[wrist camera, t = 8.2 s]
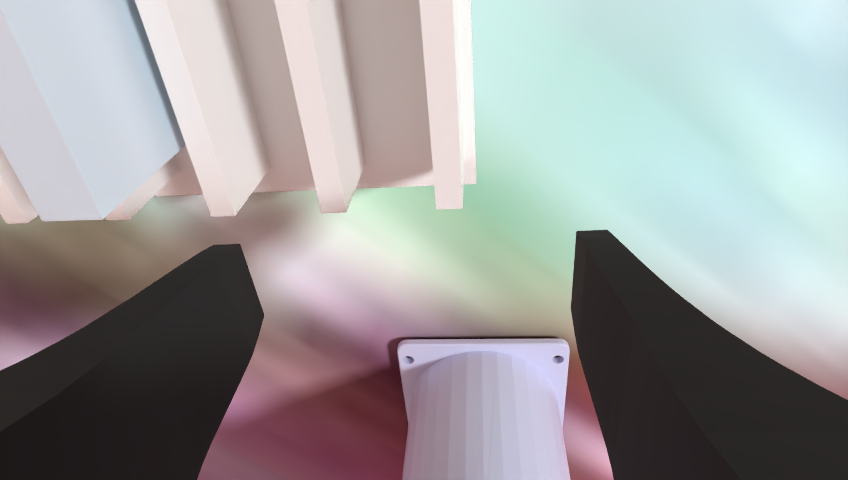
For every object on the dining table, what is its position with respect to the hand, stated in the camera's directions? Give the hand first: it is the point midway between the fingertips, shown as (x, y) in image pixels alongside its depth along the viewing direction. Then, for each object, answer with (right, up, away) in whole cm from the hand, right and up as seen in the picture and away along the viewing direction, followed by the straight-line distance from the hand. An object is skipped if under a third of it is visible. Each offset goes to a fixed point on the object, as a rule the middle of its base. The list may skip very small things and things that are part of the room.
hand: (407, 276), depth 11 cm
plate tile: (-8, +8, +5) cm, 13 cm away
